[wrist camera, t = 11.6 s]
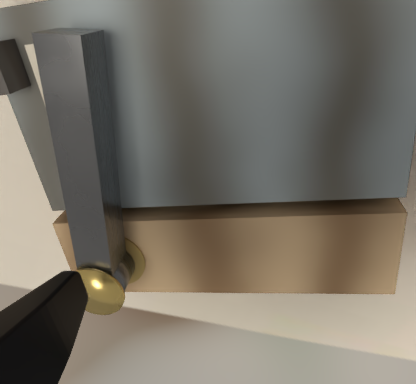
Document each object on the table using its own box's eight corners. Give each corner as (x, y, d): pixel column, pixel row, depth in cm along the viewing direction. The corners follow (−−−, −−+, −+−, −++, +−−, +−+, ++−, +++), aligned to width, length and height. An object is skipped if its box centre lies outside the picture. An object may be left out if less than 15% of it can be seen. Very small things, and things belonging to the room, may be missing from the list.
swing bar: (140, 285, 21) (125, 318, 19) (90, 279, 21) (71, 310, 19) (119, 30, 14) (93, 37, 12) (46, 26, 14) (10, 32, 12)
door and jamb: (416, -56, 14) (467, -71, 10) (379, 257, 21) (402, 311, 18) (12, 9, 18) (-55, 14, 14) (99, 259, 25) (70, 306, 21)
